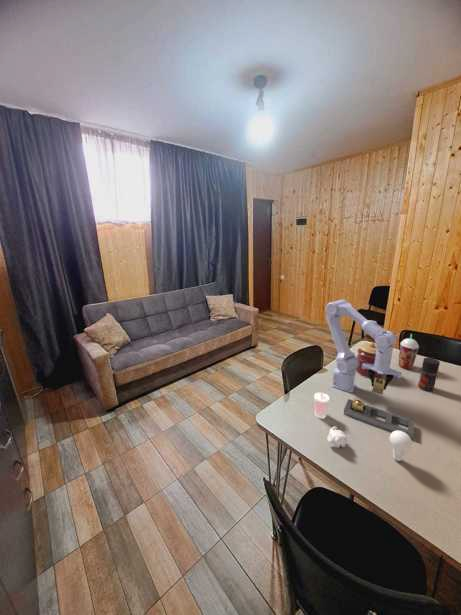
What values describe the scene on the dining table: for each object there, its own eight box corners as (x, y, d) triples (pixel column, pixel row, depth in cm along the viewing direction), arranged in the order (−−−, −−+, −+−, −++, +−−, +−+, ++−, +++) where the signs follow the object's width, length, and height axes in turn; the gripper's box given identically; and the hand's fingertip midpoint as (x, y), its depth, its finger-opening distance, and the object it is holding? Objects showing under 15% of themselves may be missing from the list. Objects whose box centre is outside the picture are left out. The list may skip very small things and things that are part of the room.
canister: (357, 363, 144) (361, 335, 139) (383, 370, 137) (387, 341, 132) (353, 373, 134) (356, 344, 129) (380, 381, 127) (385, 350, 122)
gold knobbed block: (351, 413, 105) (352, 402, 104) (353, 408, 108) (354, 397, 107) (361, 417, 103) (362, 406, 101) (363, 412, 106) (364, 401, 104)
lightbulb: (382, 452, 86) (386, 427, 83) (398, 450, 87) (403, 425, 84) (394, 468, 80) (400, 441, 77) (412, 466, 81) (418, 439, 78)
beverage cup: (316, 407, 109) (319, 380, 105) (330, 414, 105) (333, 386, 101) (310, 414, 105) (312, 386, 101) (323, 422, 101) (326, 392, 97)
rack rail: (343, 413, 105) (344, 409, 104) (348, 403, 111) (348, 398, 110) (412, 439, 91) (413, 434, 90) (413, 426, 97) (414, 421, 97)
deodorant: (436, 392, 117) (442, 364, 112) (421, 391, 118) (427, 363, 114) (429, 385, 122) (435, 358, 118) (415, 384, 123) (421, 357, 119)
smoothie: (418, 370, 135) (425, 337, 129) (402, 370, 135) (409, 337, 129) (407, 362, 143) (413, 331, 137) (393, 363, 143) (398, 331, 137)
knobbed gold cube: (372, 391, 109) (373, 380, 107) (373, 387, 112) (375, 376, 110) (382, 394, 106) (384, 383, 105) (383, 390, 110) (385, 379, 108)
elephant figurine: (322, 438, 93) (323, 425, 92) (343, 436, 94) (344, 423, 92) (331, 453, 87) (332, 439, 85) (352, 451, 87) (354, 437, 86)
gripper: (362, 358, 106) (358, 385, 110) (402, 368, 97) (397, 397, 101) (365, 352, 111) (361, 378, 115) (403, 360, 103) (398, 388, 107)
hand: (378, 386), depth 109 cm, fingers closed on knobbed gold cube, 4 cm apart
